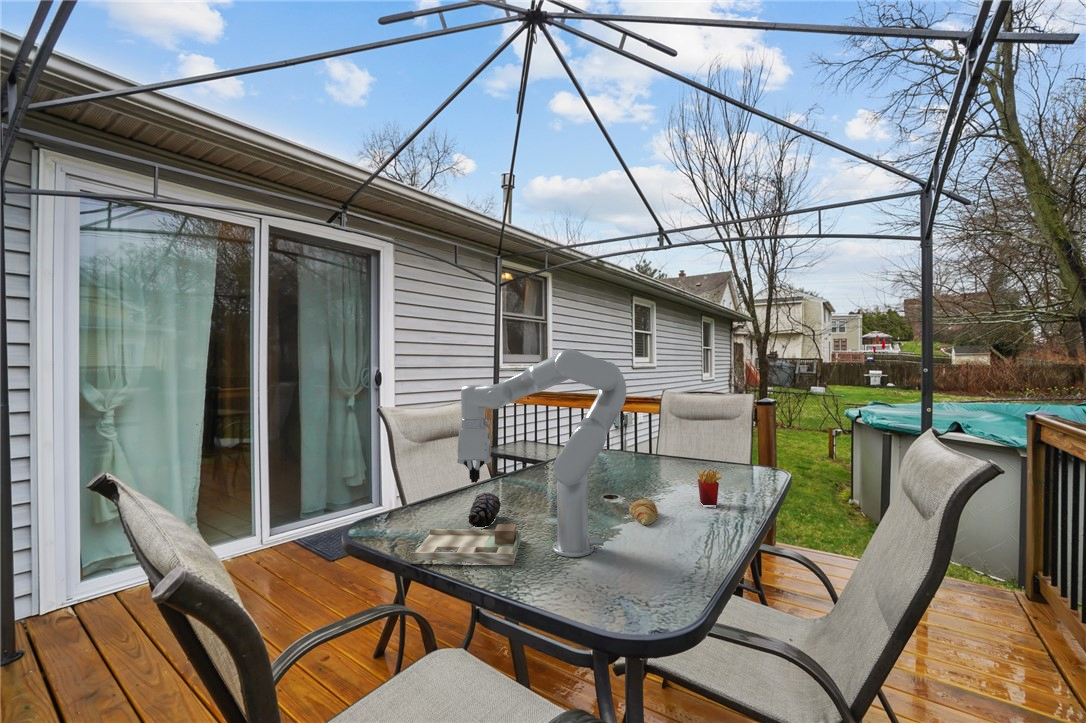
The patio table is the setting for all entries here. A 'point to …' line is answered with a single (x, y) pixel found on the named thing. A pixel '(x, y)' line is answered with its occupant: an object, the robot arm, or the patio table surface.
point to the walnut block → (505, 534)
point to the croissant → (644, 511)
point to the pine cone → (484, 510)
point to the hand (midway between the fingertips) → (474, 481)
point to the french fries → (708, 487)
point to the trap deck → (467, 547)
